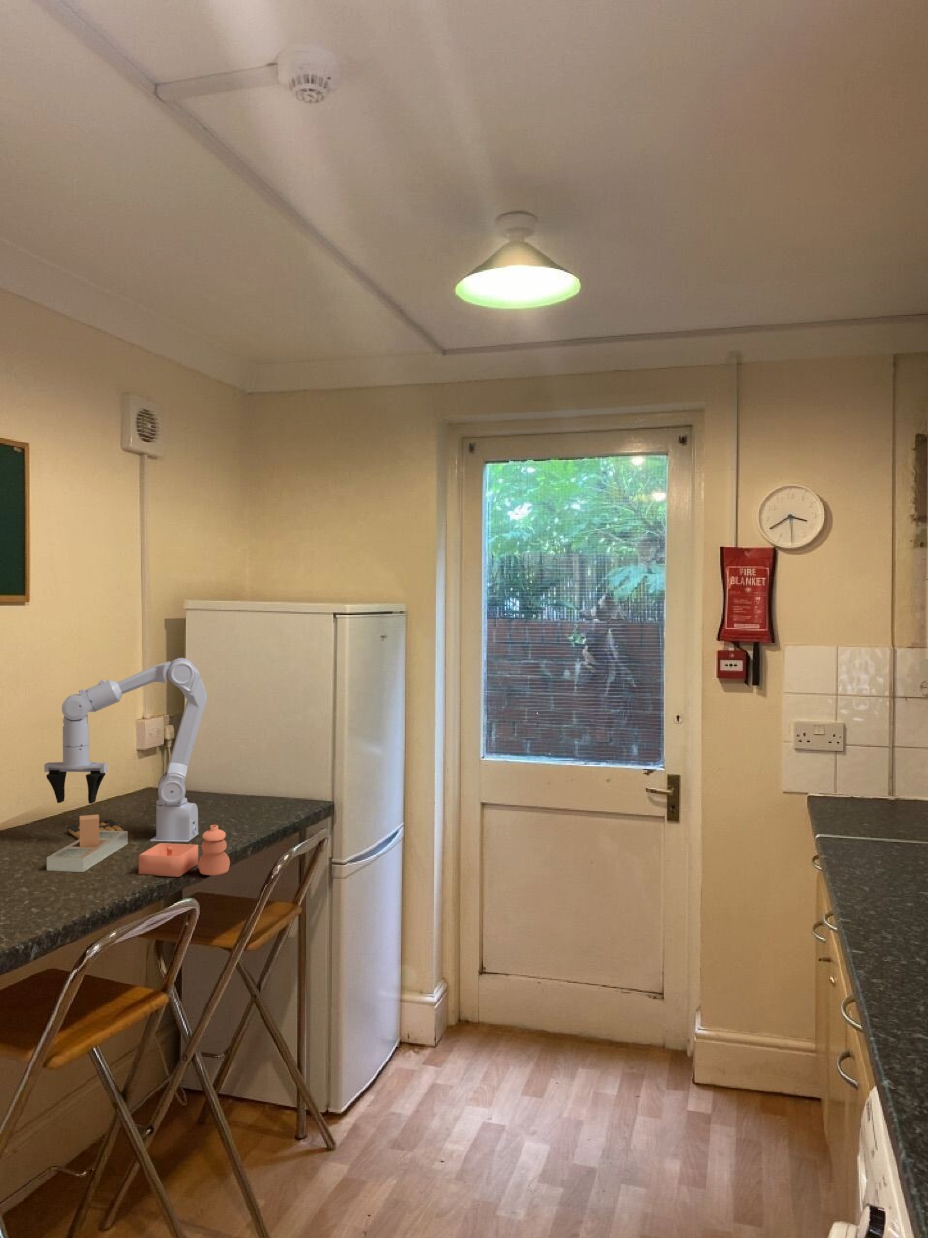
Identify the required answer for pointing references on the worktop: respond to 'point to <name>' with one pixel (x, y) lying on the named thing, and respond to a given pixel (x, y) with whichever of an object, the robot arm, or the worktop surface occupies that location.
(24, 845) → the worktop surface
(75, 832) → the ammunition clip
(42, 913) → the worktop surface
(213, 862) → the pottery
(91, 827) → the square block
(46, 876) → the worktop surface
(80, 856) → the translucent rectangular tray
